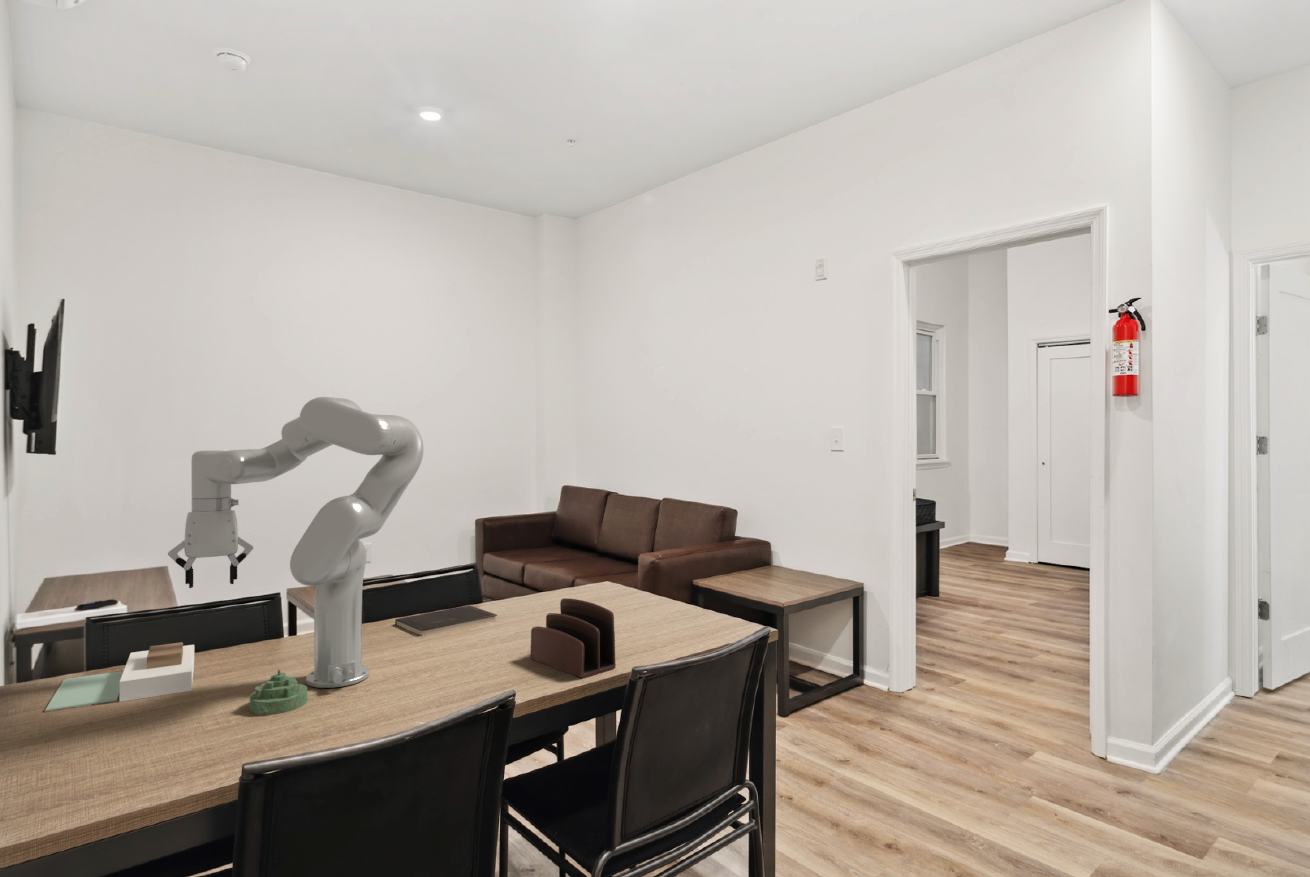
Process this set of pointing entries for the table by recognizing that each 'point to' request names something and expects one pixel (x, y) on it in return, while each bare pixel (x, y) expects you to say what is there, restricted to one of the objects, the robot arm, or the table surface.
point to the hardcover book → (445, 620)
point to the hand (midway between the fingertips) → (211, 584)
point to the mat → (86, 691)
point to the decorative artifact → (278, 695)
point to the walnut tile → (165, 655)
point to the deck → (156, 676)
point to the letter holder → (576, 639)
